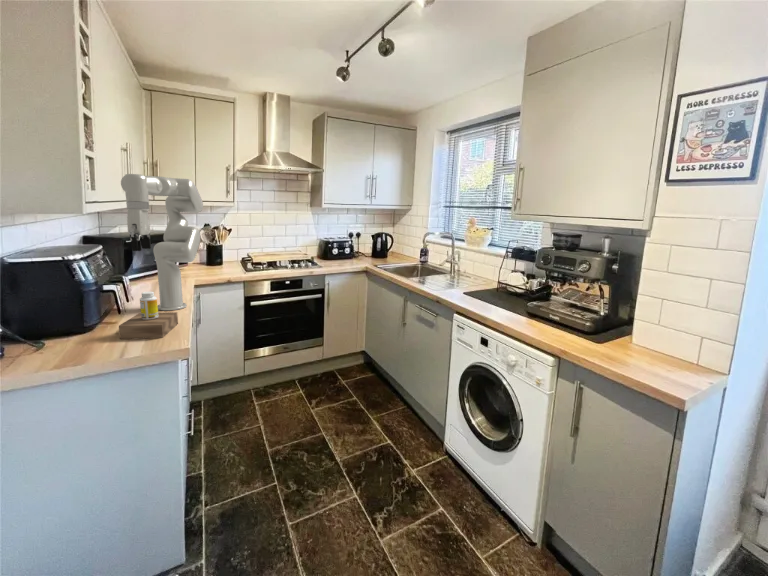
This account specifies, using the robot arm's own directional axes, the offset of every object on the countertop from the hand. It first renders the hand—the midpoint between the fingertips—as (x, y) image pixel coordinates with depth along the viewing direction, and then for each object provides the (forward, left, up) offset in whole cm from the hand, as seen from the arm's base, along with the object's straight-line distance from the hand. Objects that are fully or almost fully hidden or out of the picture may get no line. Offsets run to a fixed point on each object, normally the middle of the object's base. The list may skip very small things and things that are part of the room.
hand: (141, 249), depth 151 cm
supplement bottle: (+14, +6, -25) cm, 29 cm away
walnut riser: (+14, +6, -30) cm, 34 cm away
